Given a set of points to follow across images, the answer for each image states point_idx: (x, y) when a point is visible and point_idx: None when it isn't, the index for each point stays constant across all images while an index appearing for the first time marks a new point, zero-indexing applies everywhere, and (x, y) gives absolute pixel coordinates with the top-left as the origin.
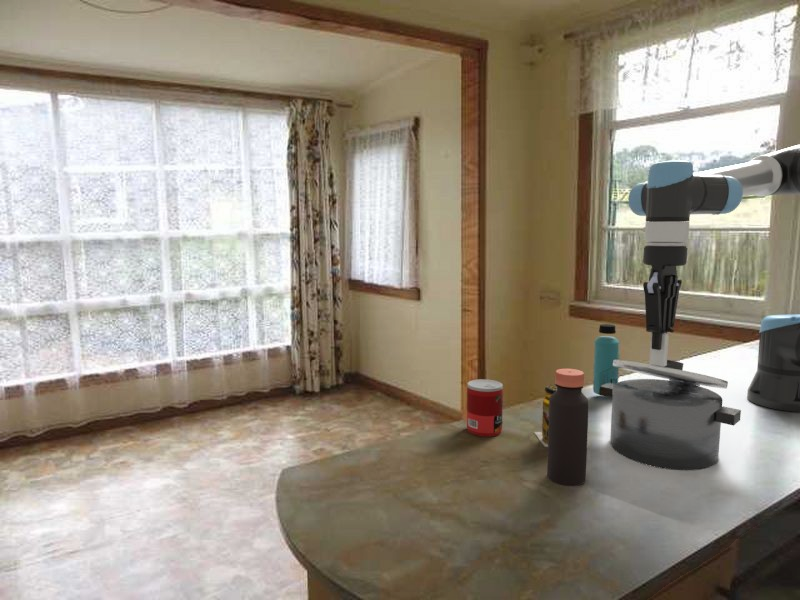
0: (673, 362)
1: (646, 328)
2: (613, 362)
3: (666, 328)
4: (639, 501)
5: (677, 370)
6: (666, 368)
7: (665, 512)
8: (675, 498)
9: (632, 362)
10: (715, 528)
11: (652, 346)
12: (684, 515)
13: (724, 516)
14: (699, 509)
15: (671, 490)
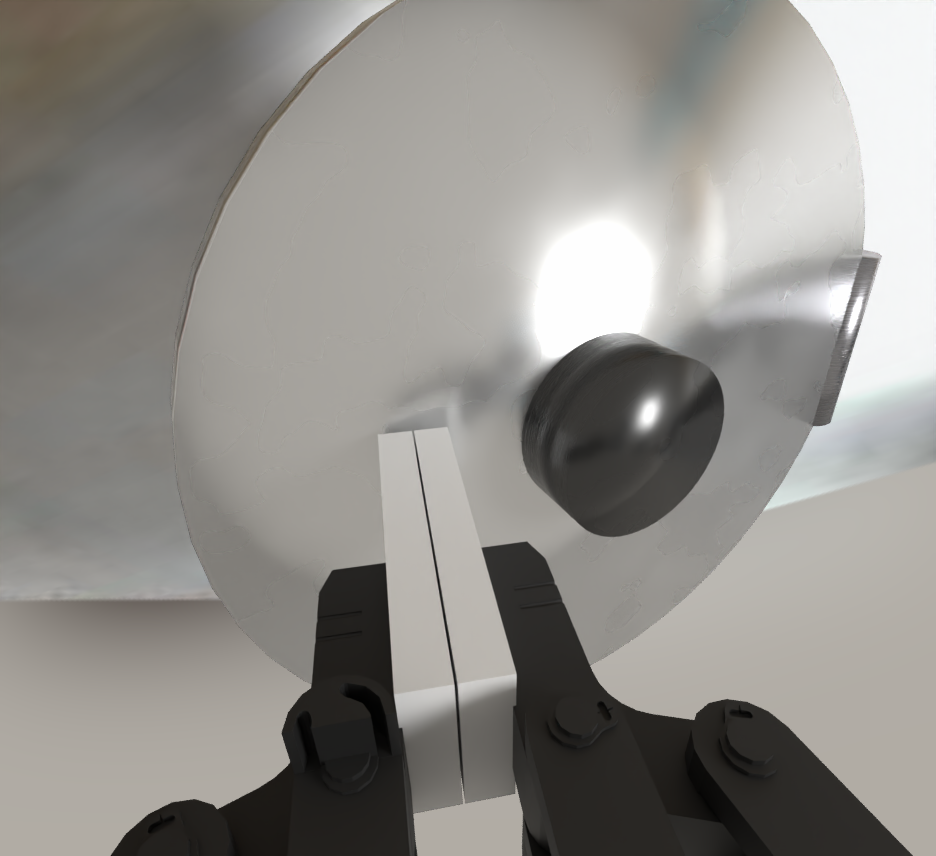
0: (571, 516)
1: (120, 845)
2: (368, 21)
3: (526, 837)
4: (2, 422)
5: (290, 666)
6: (245, 631)
7: (25, 492)
8: (133, 472)
9: (174, 389)
10: (82, 585)
11: (318, 602)
12: (65, 525)
13: (163, 573)
14: (137, 530)
15: (171, 443)
